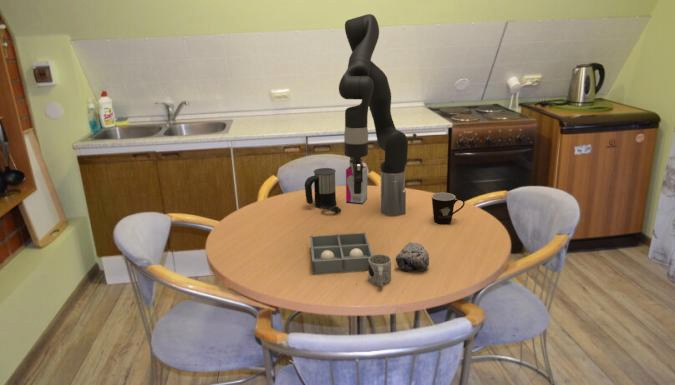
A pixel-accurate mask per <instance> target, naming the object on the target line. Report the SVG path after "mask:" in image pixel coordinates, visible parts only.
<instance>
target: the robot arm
mask: <svg viewBox="0 0 675 385" xmlns="http://www.w3.org/2000/svg"><path fill="white" fill-rule="evenodd" d="M344 31H345V32H344V33H345V35H346V39H347V42H348V44H349V47H350V50H351V53H350V56H349V59H348V65H347V69H346V70H345V72H344V73H343V75H342V77H341V79H340V80H339V84H338V93H339V96H340V97H341V98H342V99H344V100H361V102H360V103H359V104H358V105H354V106H349V107H347V108H345V111H344V131H343V132H344V134H343V139H344V140H343V141H344V142H343V144H344V145H343V146H344V147H343V148H344V149H343V151H344V152H343V153H344V156H346V157H349V167H351V170H352V176H353V178H354V180H353V182H354V194H360V193H361V183H362V181H363V180H362V179H363V166H364V162H363V161H362V160H363V159H362V158H364V157H367V156H368V154H369V130H368V128H369V127H368V115H369V114H368V113H369V111H370V114H371V117H372V120H373V125H374V129H375V137H376V141H377V144H378V146H379V148H380V149H381V150H383V152H384V161H381V164H380V213H381V214H382V215H384V216H386V217H397V216H398V217H399V216H402V215H405V214H406V213H407V212H406V210H407V209H406V206H407V205H406V203H407V201H406V199H407V193H406V189H405V186H406V185H405V179H406V178H405V176H406V175H405V173H406V171H405V170H406V166H407V163H408V151H409V150H408V149H409V148H408V147H409V144H408V138H407V136H406V134H405V133H404V132H402V131H401V130H399V129H397V128H396V125H395V123H394V121H393V118H392V117H393V116H392V112H391V110H392V109H391V106H392V91H391V88H390V84H389V81H388V77H387V75H386V73H385V72H384V71H383V70H382V69H381V68H380V67H379V66H377V65H376V63H374V62H373V61H372V60H371V59H372V56H373V54H374V52H375V48H376V46H377V43H378V40H379V37H380V26H379V23H378V20H377V18H376V16H375V15H374V14H371V13H369V14H364V15H361V16H357V17H353V18H351V19H347V20H346V21H345V23H344ZM353 170H354V171H353ZM356 176H360V179H356Z"/></svg>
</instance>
